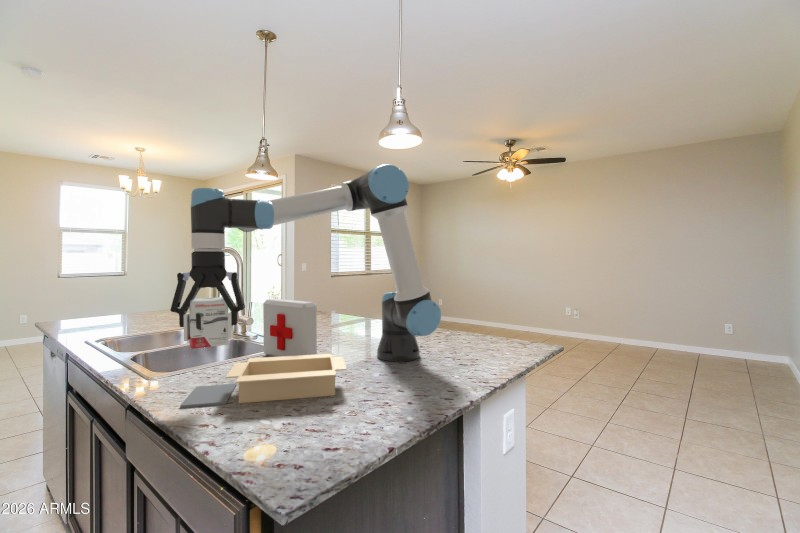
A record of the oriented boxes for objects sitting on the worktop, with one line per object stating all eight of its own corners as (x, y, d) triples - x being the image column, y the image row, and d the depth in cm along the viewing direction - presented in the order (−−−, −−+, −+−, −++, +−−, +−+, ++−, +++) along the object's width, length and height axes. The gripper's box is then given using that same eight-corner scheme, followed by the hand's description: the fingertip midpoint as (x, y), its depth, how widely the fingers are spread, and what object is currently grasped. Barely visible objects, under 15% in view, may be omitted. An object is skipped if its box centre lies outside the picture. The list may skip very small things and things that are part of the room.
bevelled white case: (259, 356, 133) (258, 300, 133) (277, 351, 140) (277, 298, 140) (301, 365, 122) (301, 304, 122) (318, 360, 129) (318, 302, 128)
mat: (236, 385, 104) (236, 383, 104) (226, 404, 91) (225, 401, 91) (196, 388, 101) (196, 386, 101) (180, 407, 89) (180, 405, 89)
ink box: (191, 349, 91) (190, 300, 91) (189, 345, 95) (188, 298, 95) (229, 344, 96) (228, 298, 96) (226, 341, 100) (225, 296, 100)
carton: (341, 374, 114) (341, 352, 114) (348, 399, 94) (348, 373, 94) (238, 381, 107) (238, 358, 107) (222, 410, 87) (221, 382, 87)
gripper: (256, 251, 101) (257, 333, 102) (165, 250, 96) (166, 337, 97) (252, 250, 94) (253, 340, 94) (153, 250, 89) (154, 344, 89)
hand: (209, 338), depth 96 cm, fingers closed on ink box, 9 cm apart
